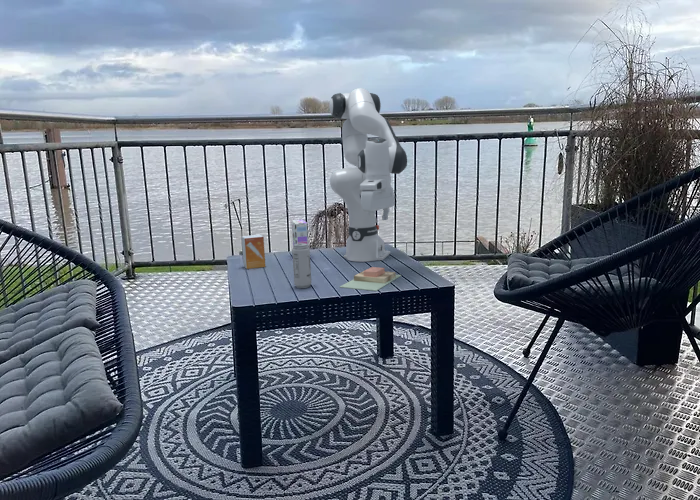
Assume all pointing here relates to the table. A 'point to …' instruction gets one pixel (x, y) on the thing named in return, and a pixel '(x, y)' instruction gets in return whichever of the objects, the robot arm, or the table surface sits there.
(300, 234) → the candy box
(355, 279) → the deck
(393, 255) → the table surface
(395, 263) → the table surface
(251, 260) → the small box
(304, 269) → the energy drink can
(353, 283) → the mat
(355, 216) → the robot arm
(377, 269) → the tile
